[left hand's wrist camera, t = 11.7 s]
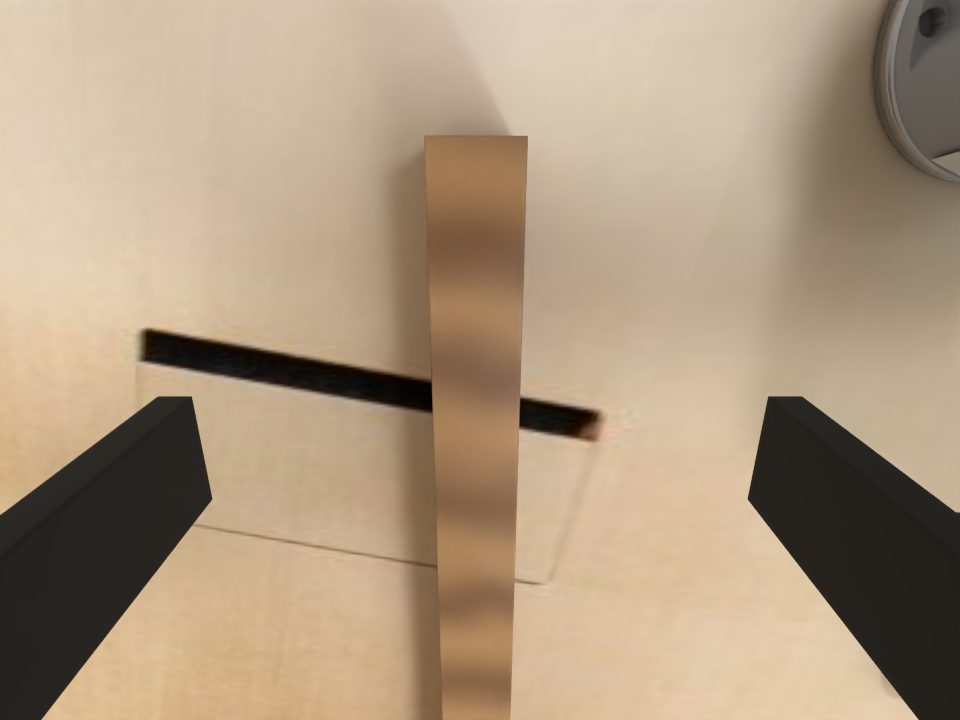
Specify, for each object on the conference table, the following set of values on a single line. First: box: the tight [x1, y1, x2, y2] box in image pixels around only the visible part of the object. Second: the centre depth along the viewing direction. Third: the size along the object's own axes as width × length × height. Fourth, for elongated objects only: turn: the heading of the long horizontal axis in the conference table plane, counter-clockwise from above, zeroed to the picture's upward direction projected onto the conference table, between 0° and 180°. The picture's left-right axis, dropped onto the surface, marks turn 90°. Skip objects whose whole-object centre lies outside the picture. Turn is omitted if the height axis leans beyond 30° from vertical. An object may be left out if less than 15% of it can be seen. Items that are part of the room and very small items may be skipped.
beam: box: [424, 136, 528, 720], centre depth 40 cm, size 66×5×9 cm, turn 0°
